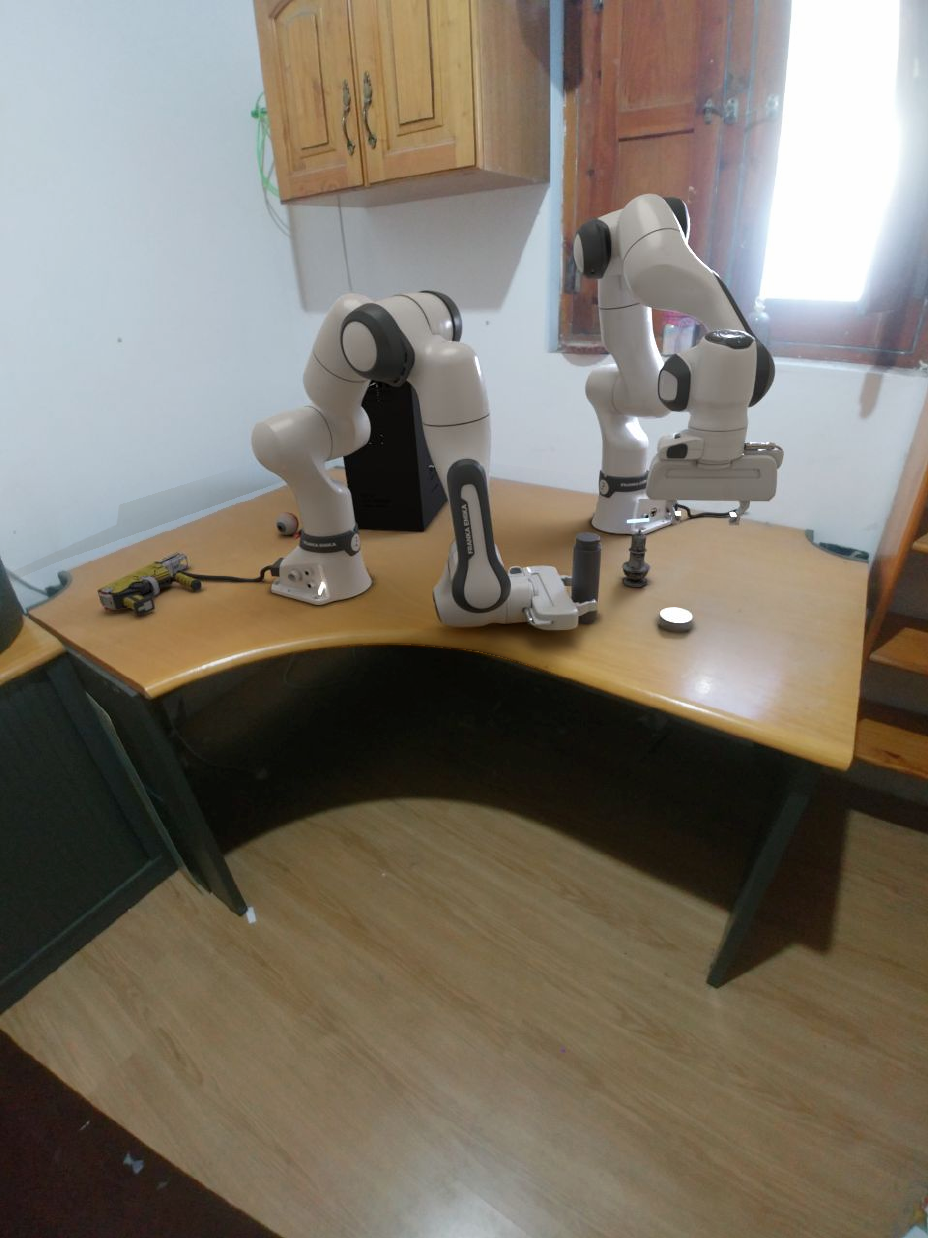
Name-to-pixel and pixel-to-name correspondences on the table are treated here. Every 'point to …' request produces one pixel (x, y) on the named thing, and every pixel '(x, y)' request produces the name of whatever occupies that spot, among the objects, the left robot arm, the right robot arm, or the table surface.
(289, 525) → the eyeball
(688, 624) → the lid
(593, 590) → the grey tall cylinder
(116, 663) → the table surface
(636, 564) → the dark grey chess piece
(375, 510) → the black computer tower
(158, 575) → the toy gun
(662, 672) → the table surface
